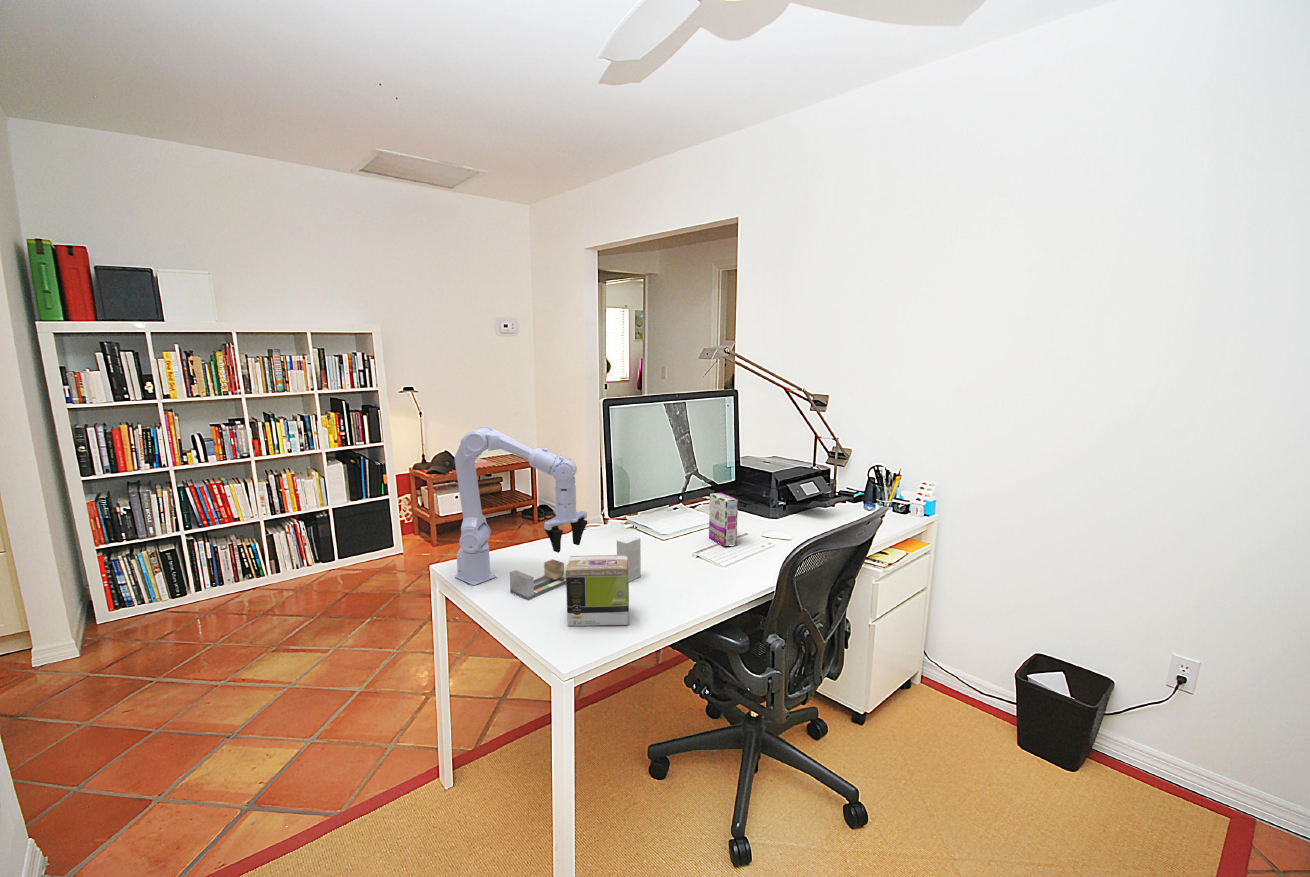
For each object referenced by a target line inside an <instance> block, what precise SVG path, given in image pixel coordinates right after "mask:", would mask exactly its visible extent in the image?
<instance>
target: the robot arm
mask: <svg viewBox="0 0 1310 877" xmlns="http://www.w3.org/2000/svg"><path fill="white" fill-rule="evenodd" d="M486 450H487V451H488V452H490V451H496V450H497V451H498V450H502V451H505V452H507V453H510V454H512V455H515V456H517V457H519V458H522V459H525V460H527V461H528V463H529V465H530V467H532V468H534V469H536V470H538V471H540V472H543V473H544V474H548V475H549V476H553V479H554V480H555V488H554V489H555V490H554V491H555V516H554V517H553V518H551V519H549V520H547V521H545V522H544V523H543V524H544V527H543V529H544V531H545V534H546V535H547V536H548V538H549V541H550V544H551V546H552V550H553V552H555V553H561V543H562V535H563V532H564V530H562V529H560V527H561V526H564V525H567V524H570V527H571V534H572V544H573V545H576V546H580V545H581V541H582V538H583V537H582V536H583V533H584V531H585V528H586V527H587V526H588V520H586V519H588V511H584V510H580V511H577V488H576V487H577V485H576V477H575V475H576V473H577V470H578V469H577V468H578V466H577V464H576V463H575V462H574V461H573V460H572V459H571V458H568V457H566V458H565V457H564V456H562V455H560V456H559V455H556V454H554V453H552V452H549V451H548V450H549V448H547V447H543V448H541V447H537V448H531V447H529V446H527V445H525V444H524V443H522V442H519V441H517V440H516V439H515V438H513V437H510V436H508V435H507V434H504V433H502V432H501V431H499V430H497V429H493V428H492V427H489V426H480V427H479V428H477V429H475V430H472V431H469V432H467V433H466V434H465V435H464V436H463V437H462V438H461V439H460V444H459V446H458V448H457V451H456V453H455V455H454V465H455V472H456V478H457V485H458V486H457V487H458V490H459V498H460V505H461V511H462V518H463V519H462V523H461V526H460V532H461V533H460V536H459V537H460V538H459V546H460V548H459V550H458V551H457V554H456V567H457V568H456V570H457V574H456V575H454V577H455V578H457V579H459V580H460V581H462V582H464V583H467V584H470V585H472V586H475V585H478V584H481V583H484V582H487V581H490V580H492V579H495V578H497V574H495V573H492V572H491V565H490V563H491V562H490V545H489V543H488V541H489V539H490V538H491V535H492V531H491V527H490V526H489V524H488V522H487V518H486V517H485V516H484V514H483V511H482V504H481V497H480V495H481V494H480V489H479V488H480V487H479V483H478V482H479V481H478V475H477V468H476V463H475V462H476V460H477V459H478V458H479V457H480V456H481V455H482V453H483V452H485V451H486Z"/></svg>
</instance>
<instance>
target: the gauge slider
mask: <svg viewBox="0 0 1310 877" xmlns="http://www.w3.org/2000/svg"><path fill="white" fill-rule="evenodd" d="M543 564H544V565H543V568H544V570H543V571H544V572H543V573H544V576H547V577H549V578H552V579H558V580H561V581H564V578H565V577H564V575H565V568H564V567H565V563H564V562H563V561H560V560H556V559H554V558H552V559H549V560H548V561H544V563H543ZM561 577H564V578H561Z"/></svg>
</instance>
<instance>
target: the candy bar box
mask: <svg viewBox="0 0 1310 877" xmlns="http://www.w3.org/2000/svg"><path fill="white" fill-rule="evenodd" d="M738 508H739V499H738V498H735V497H733V496H730V495H728V494H725V493H723V492H715V493H710V494H709V514H708V515H709V518H708V519H709V520H708V522H709V523H708V525H709V526H708V538H709V539H710V540H711V539H712V540H711V541H713V540H714V541H713V542H715V541H716V542H719V543H720V544H721V545H723V546H729V545H736V546H737V535H738V532H737V530H738ZM716 542H715V543H716ZM720 544H719V545H720ZM721 545H720V546H721ZM723 546H722V547H723Z"/></svg>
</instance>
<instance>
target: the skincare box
mask: <svg viewBox="0 0 1310 877" xmlns="http://www.w3.org/2000/svg"><path fill="white" fill-rule="evenodd" d="M616 555H628V576H629V582H632V581H633V580H635V579H638V578H640V577H641V576H642V575H641V572H642V571H641V569H642V567H641V564H642V563H641V560H642V558H641V537H638V536H635V535H631V534H630V535H629V534H628V535H626V536H624V537H622V538H619V539H617V540H616Z"/></svg>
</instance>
